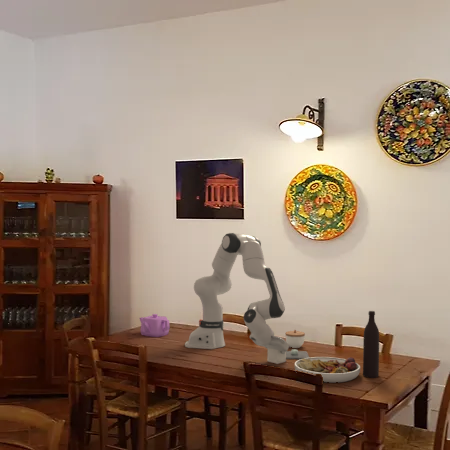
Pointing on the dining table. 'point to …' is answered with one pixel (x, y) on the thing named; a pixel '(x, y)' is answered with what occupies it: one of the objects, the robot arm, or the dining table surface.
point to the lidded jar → (295, 338)
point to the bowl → (330, 368)
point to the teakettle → (154, 326)
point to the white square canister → (275, 356)
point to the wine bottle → (371, 348)
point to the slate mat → (300, 353)
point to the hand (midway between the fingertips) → (277, 351)
